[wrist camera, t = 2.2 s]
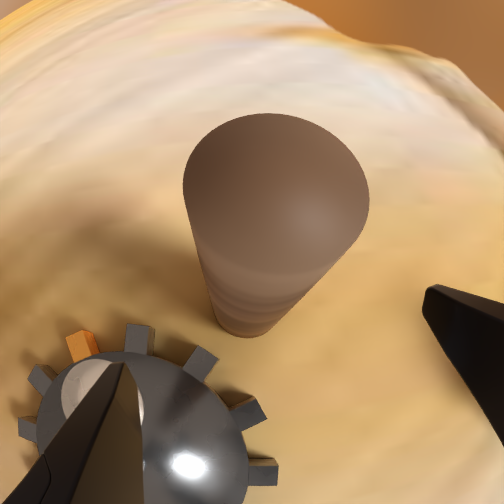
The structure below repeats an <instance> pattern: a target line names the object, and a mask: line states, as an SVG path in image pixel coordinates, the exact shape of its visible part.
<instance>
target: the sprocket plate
mask: <svg viewBox="0 0 504 504" xmlns="http://www.w3.org/2000/svg"><path fill="white" fill-rule="evenodd" d="M154 336H155V329H153V328H151V327H149V326H142V325H134V324H127V328H126V338H125V348H124V352H123V351H117V352H105V353H100V352H99V349H98V347H97V344H96V341H95V339H94V336H93V333H91V332H88V331H84V330H81V331H79V332H76V333H74V334H72V335H70V336H68V337H66V341H67V344H68V347H69V350H70V353H71V356H72V359H73V361H74V363H73V364H71V365H70V366H68V367H67V368H66V369H64V370H63V371H62V372H61V373H60V374H59V375H57V374H56V373H55V372H54V371H53V370H52V369H51V368H50V367H49V366H48V365H39V364H36V365H35V367H34V369H33V370H32V372H31V374H30V375H29V377H28V381H29V382H30V383H31V384H32V385H33V386H34V387H35V388H36V390H37V391H38V392H39V393H40V394H41V395H42V396H43V399H42V401H41V405H40V408H39V411H38V417H37V418H35V417H32V416H26V417H18V430H19V436H21V437H23V438H25V439H28V440H30V441H32V442H35V443H37V446H38V451H39V455H41V454H42V453H43V454H44V450H45V449H46V447H47V446H48V445H49V443H50V442H51V440H52V439H53V438H54V436H55V435H56V434H57V432H58V431H59V430H60V428H61V427H62V425H63V424H64V423H65V421H66V420H67V419H68V417H69V416H70V415H71V413H72V412H73V411H74V409H75V408H76V407H77V405H78V404H79V403H80V402H81V400H82V399H83V398H84V396H85V395H86V394H87V392H88V391H89V390H90V388H91V387H92V386H93V385H94V383H95V382H96V381H97V379H98V378H99V377H100V376H101V374H102V373H103V372H104V371H105V369H106V368H107V367H108V365H109V364H111V363H116V362H125V363H126V365H127V366H128V368H129V370H130V372H131V374H132V376H133V378H134V380H135V382H136V384H137V389H138V400H139V410H140V420H141V429H142V442H143V485H144V504H242V503H243V501H244V498H245V494H246V491H247V487H248V486H277V480H278V464H277V462H276V460H275V459H259V458H248V455H247V450H246V445H245V441H244V438H243V435H242V432H241V431H243V430H246V429H248V428H250V427H252V426H254V425H256V424H258V423H260V422H262V421H264V420H266V419H267V418H266V416H265V414H264V412H263V411H262V409H261V407H260V405H259V403H258V402H257V400H256V398H255V397H254V396H253V397H251V398H249V399H247V400H245V401H243V402H241V403H239V404H237V405H234V406H232V407H230V408H229V407H228V406H227V404H226V403H225V402H224V401H223V400H222V398H221V397H220V396H219V395H218V394H217V393H216V392H215V391H214V390H213V389H212V388H211V387H210V386H209V385H208V384H207V383H206V382H205V380H206V379H207V377H208V376H209V374H210V373H211V371H212V370H213V368H214V367H215V366H216V364H217V363H218V361H219V360H220V359H218V358H217V357H215V356H214V355H212V354H211V353H209V352H208V351H206V350H205V349H203V348H202V347H200V346H199V345H198V346H197V348H196V349H195V351H194V352H193V354H192V355H191V356H190V358H189V359H188V361H187V362H186V364H185V365H184V366H183V367H181V366H179V365H177V364H175V363H173V362H171V361H168V360H165V359H162V358H159V357H156V356H153V347H154Z"/></svg>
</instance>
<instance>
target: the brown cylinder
mask: <svg viewBox="0 0 504 504" xmlns="http://www.w3.org/2000/svg"><path fill="white" fill-rule="evenodd" d="M183 195H184V200H185V205H186V209H187V213H188V217H189V221H190V225H191V229H192V233H193V237H194V241H195V245H196V248H197V252H198V256H199V260H200V264H201V267H202V271H203V275H204V278H205V282H206V285H207V289H208V293H209V296H210V300H211V303H212V307H213V310H214V314H215V317H216V319H217V321H218V323H219V324H220V325H221V327H222V328H223V329H224V330H226V331H227V332H228V333H230V334H232V335H234V336H237V337H240V338H254V337H258V336H261V335H263V334H265V333H266V332H268V331H269V330H270V329H271V328H272V327H273V326H274V325H275V324H276V323H277V322H278V321H279V320H280V319H281V318H282V317H283V316H284V315H285V314H286V313H287V312H288V311H289V310H290V309H291V308H292V307H293V306H294V305H295V304H296V303H297V302H298V301H299V300H300V299H301V298H302V297H303V296H304V295H305V294H306V293H307V292H308V291H309V290H310V289H311V288H312V287H313V286H314V285H315V284H316V283H317V282H318V281H319V280H320V279H321V278H322V277H323V276H324V275H325V274H326V273H327V271H328V270H329V269H330V268H331V267H332V266H333V265H334V264H335V263H336V262H337V261H338V260H339V259H340V258H341V257H342V256H343V254H344V253H345V252H346V251H347V250H348V249H349V248H350V247H351V246H352V244H353V243H354V242H355V241H356V240H357V238H358V237H359V235H360V233H361V232H362V230H363V228H364V225H365V223H366V220H367V216H368V211H369V189H368V185H367V181H366V178H365V175H364V172H363V170H362V168H361V166H360V164H359V162H358V161H357V159H356V158H355V156H354V155H353V153H352V152H351V151H350V150H349V149H348V148H347V147H346V145H345V144H343V143H342V142H341V141H340V140H339V139H338V138H337V137H335V136H334V135H333V134H331V133H330V132H329V131H327V130H325V129H324V128H322V127H320V126H318V125H316V124H314V123H312V122H310V121H307V120H304V119H301V118H298V117H294V116H290V115H283V114H272V113H265V114H253V115H247V116H243V117H239V118H236V119H233V120H231V121H228V122H226V123H224V124H222V125H220V126H218V127H217V128H215V129H214V130H212V131H211V132H210V133H208V134H207V135H206V136H205V137H204V138H203V139H202V140H201V141H200V142H199V143H198V145H197V146H196V147H195V149H194V150H193V152H192V153H191V155H190V157H189V159H188V162H187V164H186V168H185V171H184V177H183Z"/></svg>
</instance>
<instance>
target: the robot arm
mask: <svg viewBox="0 0 504 504" xmlns="http://www.w3.org/2000/svg"><path fill="white" fill-rule="evenodd" d="M422 314H423V316H424V318H425V320H426V321H427V323H428V325H429V326H430V328H431V330H432V332H433V333H434V335H435V337H436V338H437V340H438V342H439V344H440V346H441V347H442V349H443V351H444V352H445V354H446V355H447V357H448V358H449V360H450V361H451V362H452V364H453V365H454V367H455V368H456V370H457V371H458V373H459V374H460V376H461V377H462V379H463V380H464V382H465V383H466V385H467V386H468V388H469V390H470V391H471V393H472V394H473V396H474V397H475V399H476V401H477V402H478V404H479V405H480V407H481V409H482V410H483V412H484V413H485V415H486V417H487V418H488V420H489V422H490V423H491V425H492V427H493V429H494V430H495V432H496V434H497V436H498V437H499V439H500V441H501V442H502V445H503V447H504V304H503V303H500V302H497V301H493V300H490V299H487V298H483V297H480V296H477V295H473V294H470V293H466V292H463V291H460V290H456V289H453V288H450V287H446V286H443V285H439V284H436V285H433V286H430V287H428V288H427V289H426V292H425V297H424V301H423V306H422ZM2 504H144V485H143V442H142V429H141V420H140V410H139V400H138V389H137V384H136V382H135V380H134V378H133V376H132V374H131V372H130V370H129V368H128V366H127V365H126V363H125V362H116V363H111V364H109V365H108V367H107V368H106V369H105V371H104V372H103V373H102V374H101V376H100V377H99V378H98V379H97V381H96V382H95V383H94V385H93V386H92V387H91V388H90V390H89V391H88V392H87V394H86V395H85V396H84V398H83V399H82V400H81V402H80V403H79V404H78V405H77V407H76V408H75V409H74V411H73V412H72V413H71V415H70V416H69V417H68V419H67V420H66V421H65V423H64V424H63V425H62V427H61V428H60V430H59V431H58V432H57V434H56V435H55V436H54V438H53V439H52V440H51V442H50V443H49V445H48V446H47V447H46V449H45V450H44V454H43V453H42V454H41V455H40V457H39V458H38V460H37V461H36V462H35V464H34V465H33V466H32V468H31V469H30V471H29V472H28V473H27V475H26V476H25V477H24V478H23V480H22V481H21V482H20V483H19V484H18V486H17V487H16V488H15V489H14V490H13V492H12V493H11V494H10V495H9V496H8V497H7V498H6V500H5V501H4V502H3V503H2Z"/></svg>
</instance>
